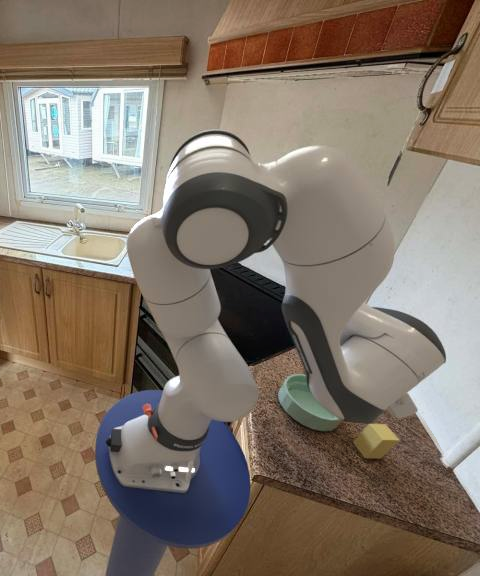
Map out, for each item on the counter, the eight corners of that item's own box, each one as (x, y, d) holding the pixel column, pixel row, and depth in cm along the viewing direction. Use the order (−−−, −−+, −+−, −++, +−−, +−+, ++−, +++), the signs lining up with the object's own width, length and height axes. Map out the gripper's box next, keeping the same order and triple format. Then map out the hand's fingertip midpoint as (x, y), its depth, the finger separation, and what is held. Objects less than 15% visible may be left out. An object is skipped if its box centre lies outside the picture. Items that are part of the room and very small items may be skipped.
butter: (364, 458, 76) (383, 440, 72) (352, 442, 80) (369, 423, 75) (380, 458, 76) (400, 440, 72) (367, 442, 80) (385, 424, 76)
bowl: (300, 434, 81) (309, 422, 78) (266, 387, 93) (273, 375, 90) (351, 430, 83) (362, 417, 80) (311, 385, 95) (319, 372, 92)
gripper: (419, 385, 49) (436, 424, 55) (334, 308, 66) (353, 344, 72) (377, 402, 51) (398, 438, 57) (305, 324, 68) (326, 357, 74)
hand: (372, 385), depth 64 cm, fingers open, 8 cm apart
